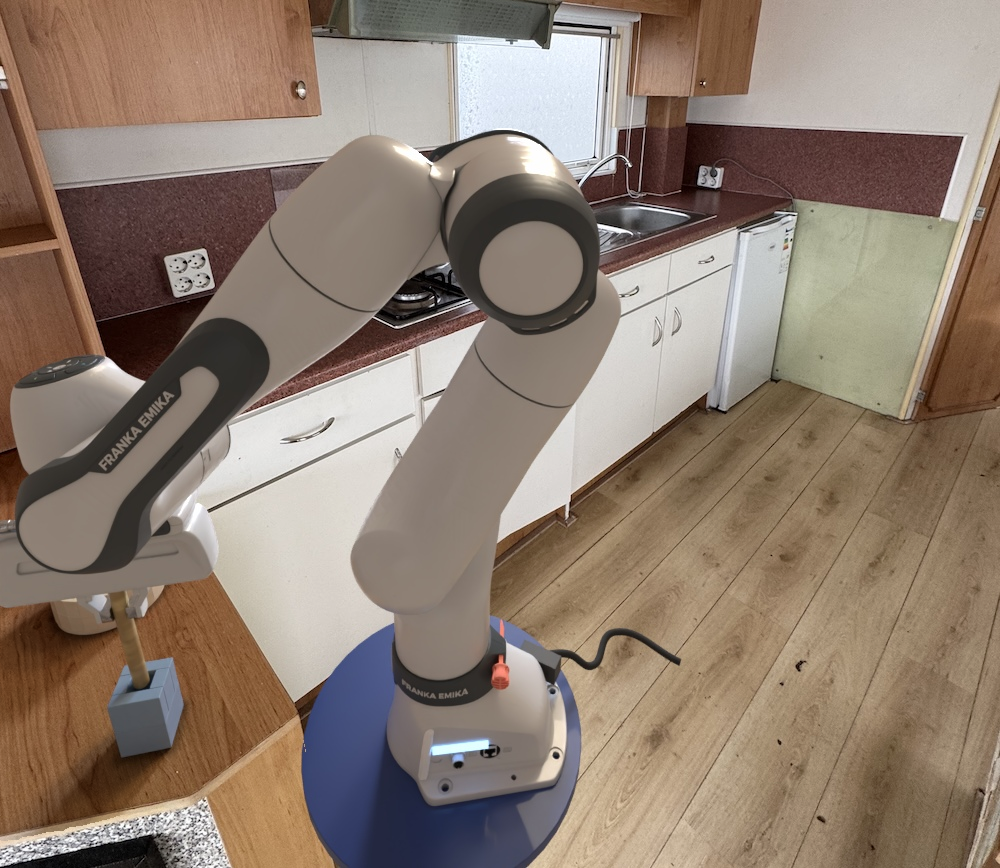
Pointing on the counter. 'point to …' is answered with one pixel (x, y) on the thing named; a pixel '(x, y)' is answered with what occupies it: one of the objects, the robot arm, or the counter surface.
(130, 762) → the counter surface
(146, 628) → the counter surface
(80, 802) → the counter surface
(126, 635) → the stirring stick
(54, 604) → the bowl
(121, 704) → the holder
